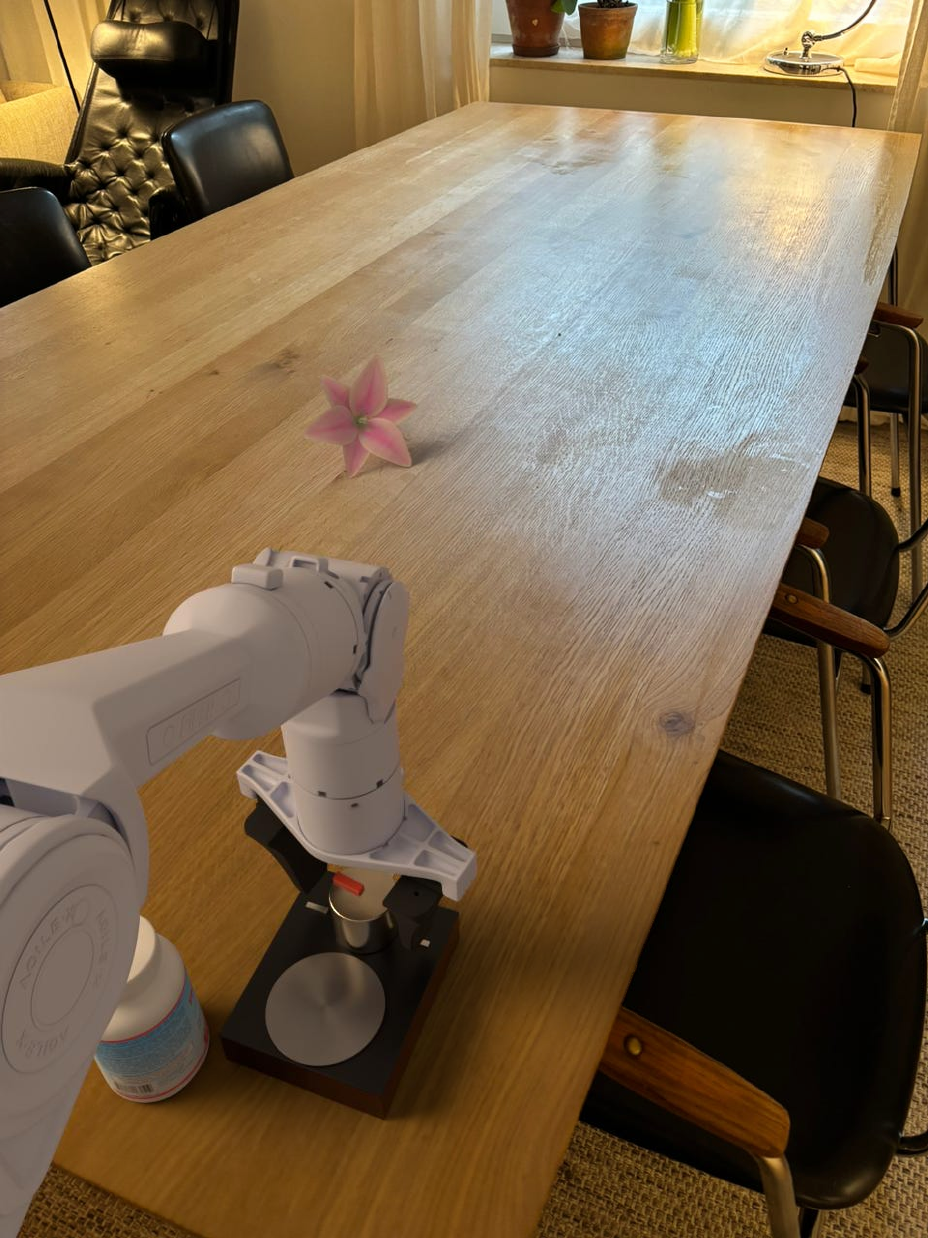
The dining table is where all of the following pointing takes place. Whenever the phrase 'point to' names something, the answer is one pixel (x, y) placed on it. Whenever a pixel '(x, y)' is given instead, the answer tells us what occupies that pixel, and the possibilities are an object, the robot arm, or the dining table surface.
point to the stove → (407, 1006)
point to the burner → (325, 1009)
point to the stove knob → (362, 910)
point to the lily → (363, 418)
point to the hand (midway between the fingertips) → (364, 908)
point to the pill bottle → (154, 1025)
